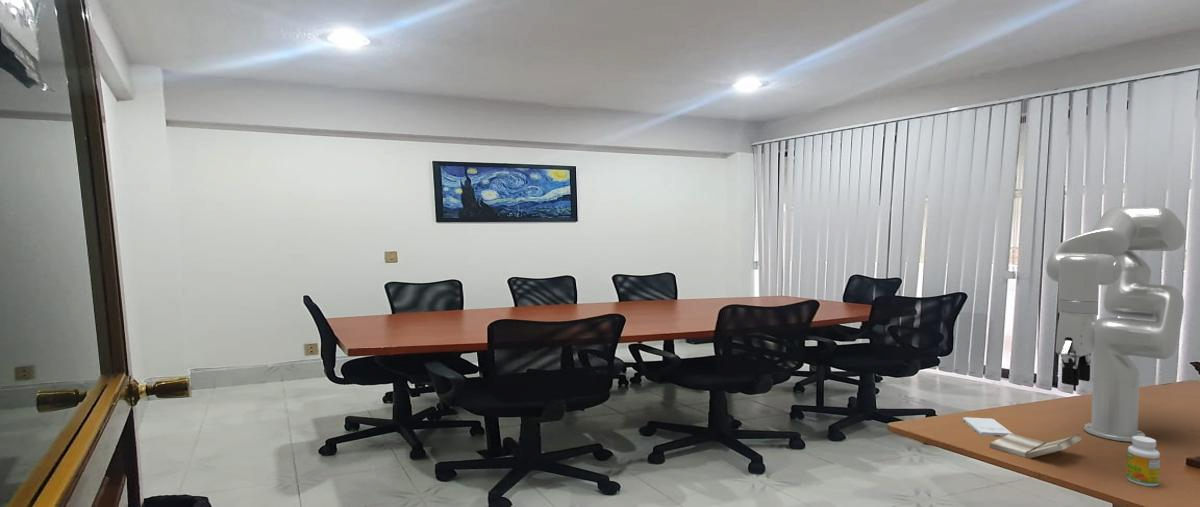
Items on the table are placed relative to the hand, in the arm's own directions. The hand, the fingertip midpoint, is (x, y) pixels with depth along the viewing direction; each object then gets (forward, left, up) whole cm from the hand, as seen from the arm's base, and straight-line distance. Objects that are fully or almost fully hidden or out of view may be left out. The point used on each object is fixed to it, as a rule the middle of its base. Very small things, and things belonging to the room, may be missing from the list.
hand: (1075, 381), depth 145 cm
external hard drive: (-9, -23, -20) cm, 32 cm away
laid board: (0, -12, -20) cm, 23 cm away
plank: (0, -4, -17) cm, 18 cm away
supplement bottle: (+1, +13, -20) cm, 24 cm away
